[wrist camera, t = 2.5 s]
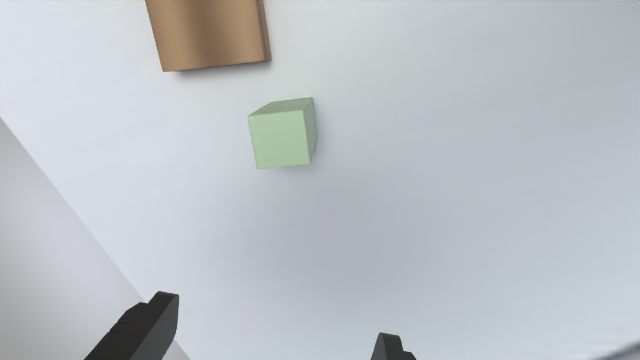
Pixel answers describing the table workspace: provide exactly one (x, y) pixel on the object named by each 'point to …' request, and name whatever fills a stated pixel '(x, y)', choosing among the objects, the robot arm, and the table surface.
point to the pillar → (283, 133)
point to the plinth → (208, 33)
